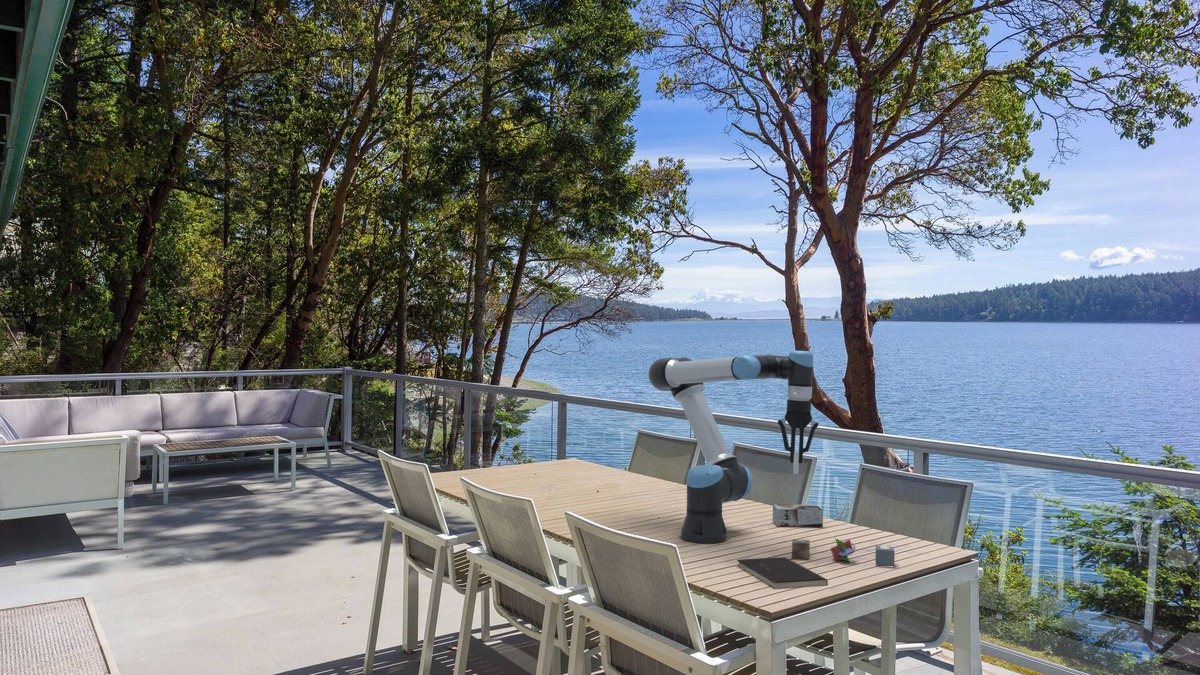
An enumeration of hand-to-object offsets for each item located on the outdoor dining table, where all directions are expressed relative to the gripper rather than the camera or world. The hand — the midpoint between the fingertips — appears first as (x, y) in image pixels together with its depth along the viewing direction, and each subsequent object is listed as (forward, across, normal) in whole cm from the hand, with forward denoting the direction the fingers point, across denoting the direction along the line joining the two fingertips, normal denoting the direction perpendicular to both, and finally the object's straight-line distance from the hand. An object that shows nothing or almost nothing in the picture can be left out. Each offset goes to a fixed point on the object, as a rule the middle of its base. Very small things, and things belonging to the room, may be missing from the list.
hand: (795, 473), depth 270 cm
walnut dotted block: (+23, +3, -14) cm, 27 cm away
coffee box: (+21, -8, +31) cm, 38 cm away
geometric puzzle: (+23, +16, -14) cm, 31 cm away
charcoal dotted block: (+22, +28, -14) cm, 38 cm away
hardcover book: (+24, -1, -36) cm, 43 cm away
